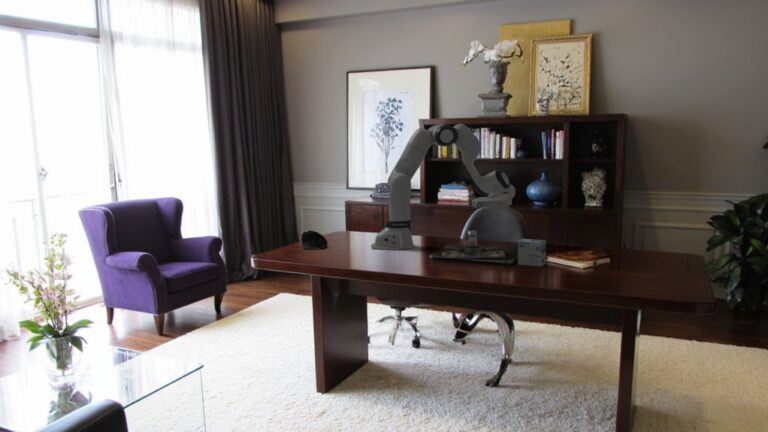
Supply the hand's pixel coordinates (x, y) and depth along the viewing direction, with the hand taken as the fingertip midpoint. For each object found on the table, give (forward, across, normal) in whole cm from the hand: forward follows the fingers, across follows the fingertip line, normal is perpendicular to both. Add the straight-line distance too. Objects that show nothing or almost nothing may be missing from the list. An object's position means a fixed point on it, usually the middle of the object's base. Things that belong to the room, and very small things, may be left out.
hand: (483, 206), depth 281 cm
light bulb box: (+25, +35, +20) cm, 47 cm away
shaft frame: (+25, +5, +18) cm, 31 cm away
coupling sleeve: (+14, -2, +19) cm, 24 cm away
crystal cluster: (+49, -76, +8) cm, 91 cm away
